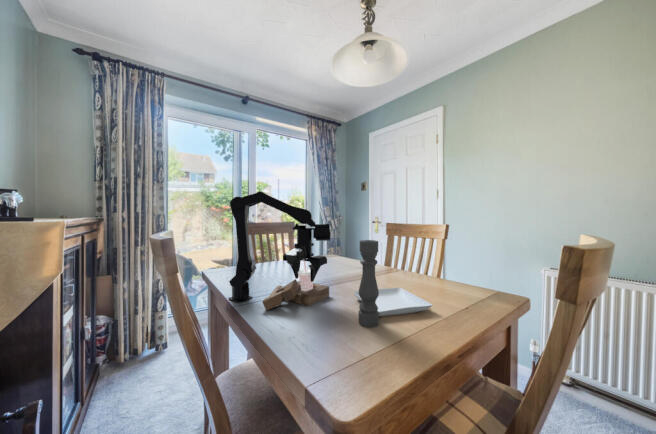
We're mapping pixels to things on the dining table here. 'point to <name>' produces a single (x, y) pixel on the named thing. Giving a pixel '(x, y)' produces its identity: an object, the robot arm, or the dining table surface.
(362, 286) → the candle holder
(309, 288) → the beverage cup
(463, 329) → the dining table surface
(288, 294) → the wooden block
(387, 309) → the salad plate
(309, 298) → the holder block
